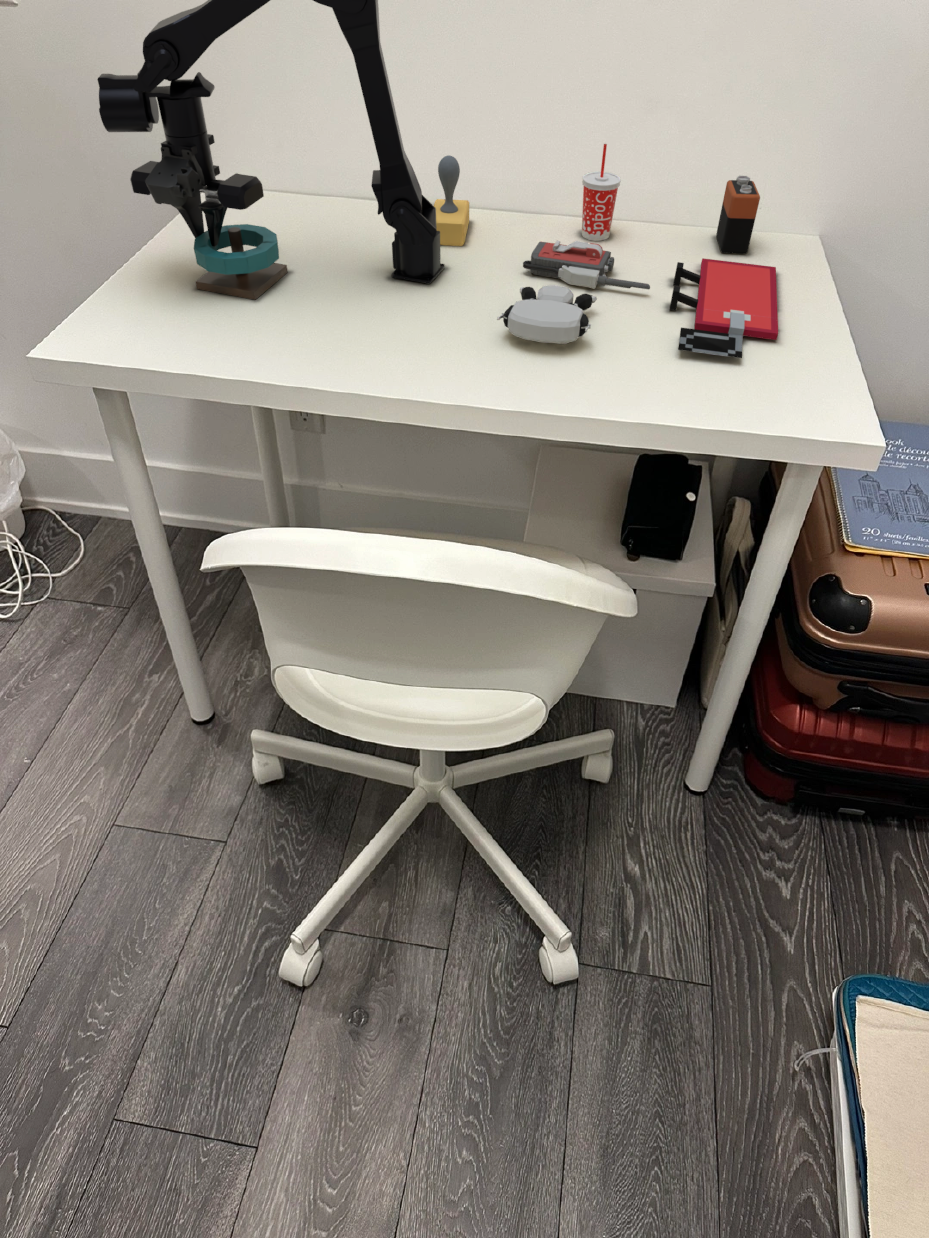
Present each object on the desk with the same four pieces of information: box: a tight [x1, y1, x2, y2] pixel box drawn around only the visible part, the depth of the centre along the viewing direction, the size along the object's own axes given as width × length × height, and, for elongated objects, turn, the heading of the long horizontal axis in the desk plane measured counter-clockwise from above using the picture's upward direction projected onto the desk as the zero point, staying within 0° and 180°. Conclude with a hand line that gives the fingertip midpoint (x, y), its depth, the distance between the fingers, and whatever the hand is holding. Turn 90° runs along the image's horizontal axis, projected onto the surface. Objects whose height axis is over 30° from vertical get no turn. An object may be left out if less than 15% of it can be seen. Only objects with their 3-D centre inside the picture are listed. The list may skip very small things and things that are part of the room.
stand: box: [195, 227, 289, 301], centre depth 133 cm, size 10×10×8 cm
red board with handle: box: [669, 257, 779, 359], centre depth 129 cm, size 30×3×15 cm
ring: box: [193, 223, 280, 275], centre depth 133 cm, size 12×12×2 cm
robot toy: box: [496, 284, 598, 345], centre depth 124 cm, size 12×4×15 cm
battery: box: [715, 175, 761, 255], centre depth 143 cm, size 4×7×10 cm, turn 176°
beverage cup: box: [581, 143, 622, 242], centre depth 144 cm, size 6×6×14 cm
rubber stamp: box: [433, 154, 470, 247], centre depth 145 cm, size 10×6×12 cm, turn 175°
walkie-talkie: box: [522, 240, 651, 290], centre depth 136 cm, size 9×4×20 cm
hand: (208, 244), depth 134 cm, fingers closed on ring, 2 cm apart
